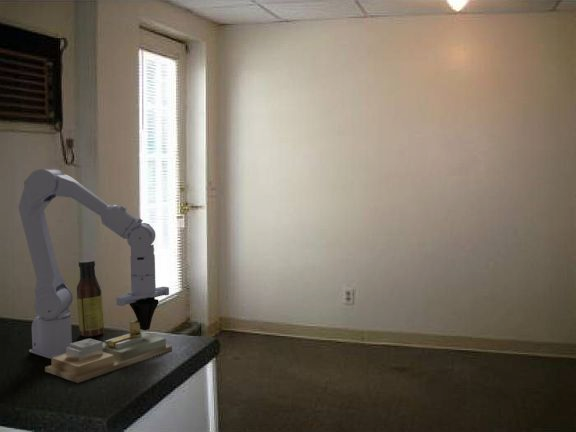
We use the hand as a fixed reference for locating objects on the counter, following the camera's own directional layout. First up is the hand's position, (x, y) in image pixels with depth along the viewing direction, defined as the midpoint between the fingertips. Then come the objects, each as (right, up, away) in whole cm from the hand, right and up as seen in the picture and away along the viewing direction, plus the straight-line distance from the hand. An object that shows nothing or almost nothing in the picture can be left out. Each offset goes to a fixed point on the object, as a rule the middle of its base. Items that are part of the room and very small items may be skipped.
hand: (144, 329), depth 142 cm
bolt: (-3, -2, -5) cm, 6 cm away
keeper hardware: (-7, -3, -9) cm, 12 cm away
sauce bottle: (-18, -4, +14) cm, 23 cm away
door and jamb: (-6, -6, -8) cm, 11 cm away
